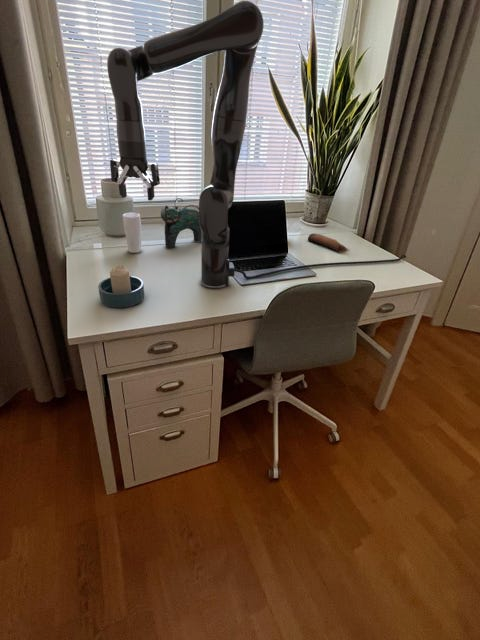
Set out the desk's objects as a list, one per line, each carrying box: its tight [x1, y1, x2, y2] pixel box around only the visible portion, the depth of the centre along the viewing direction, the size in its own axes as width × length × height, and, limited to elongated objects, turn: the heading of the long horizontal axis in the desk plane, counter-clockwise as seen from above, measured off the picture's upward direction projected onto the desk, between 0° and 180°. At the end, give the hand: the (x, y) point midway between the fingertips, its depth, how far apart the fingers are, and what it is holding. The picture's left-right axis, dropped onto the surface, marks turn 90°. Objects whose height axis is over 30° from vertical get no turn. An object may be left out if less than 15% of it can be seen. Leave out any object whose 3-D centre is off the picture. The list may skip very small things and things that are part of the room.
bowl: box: [97, 275, 145, 309], centre depth 108 cm, size 13×13×5 cm
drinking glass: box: [122, 212, 143, 254], centre depth 140 cm, size 7×7×15 cm
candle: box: [109, 265, 131, 294], centre depth 107 cm, size 6×6×10 cm
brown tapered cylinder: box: [307, 233, 348, 253], centre depth 163 cm, size 18×7×7 cm
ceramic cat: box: [160, 197, 201, 249], centre depth 149 cm, size 20×6×20 cm, turn 129°
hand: (137, 198), depth 106 cm, fingers open, 8 cm apart
